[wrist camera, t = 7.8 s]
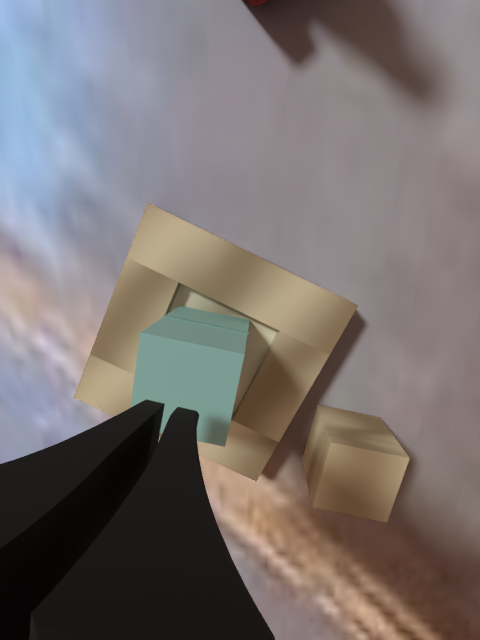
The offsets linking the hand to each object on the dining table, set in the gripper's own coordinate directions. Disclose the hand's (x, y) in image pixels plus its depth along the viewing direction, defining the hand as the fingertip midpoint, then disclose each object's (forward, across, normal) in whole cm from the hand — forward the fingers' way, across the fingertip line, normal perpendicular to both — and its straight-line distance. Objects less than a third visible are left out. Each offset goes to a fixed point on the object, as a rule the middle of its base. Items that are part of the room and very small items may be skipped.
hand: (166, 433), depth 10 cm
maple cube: (+10, -9, +4) cm, 14 cm away
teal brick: (+8, 0, 0) cm, 8 cm away
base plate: (+9, 0, 0) cm, 9 cm away
